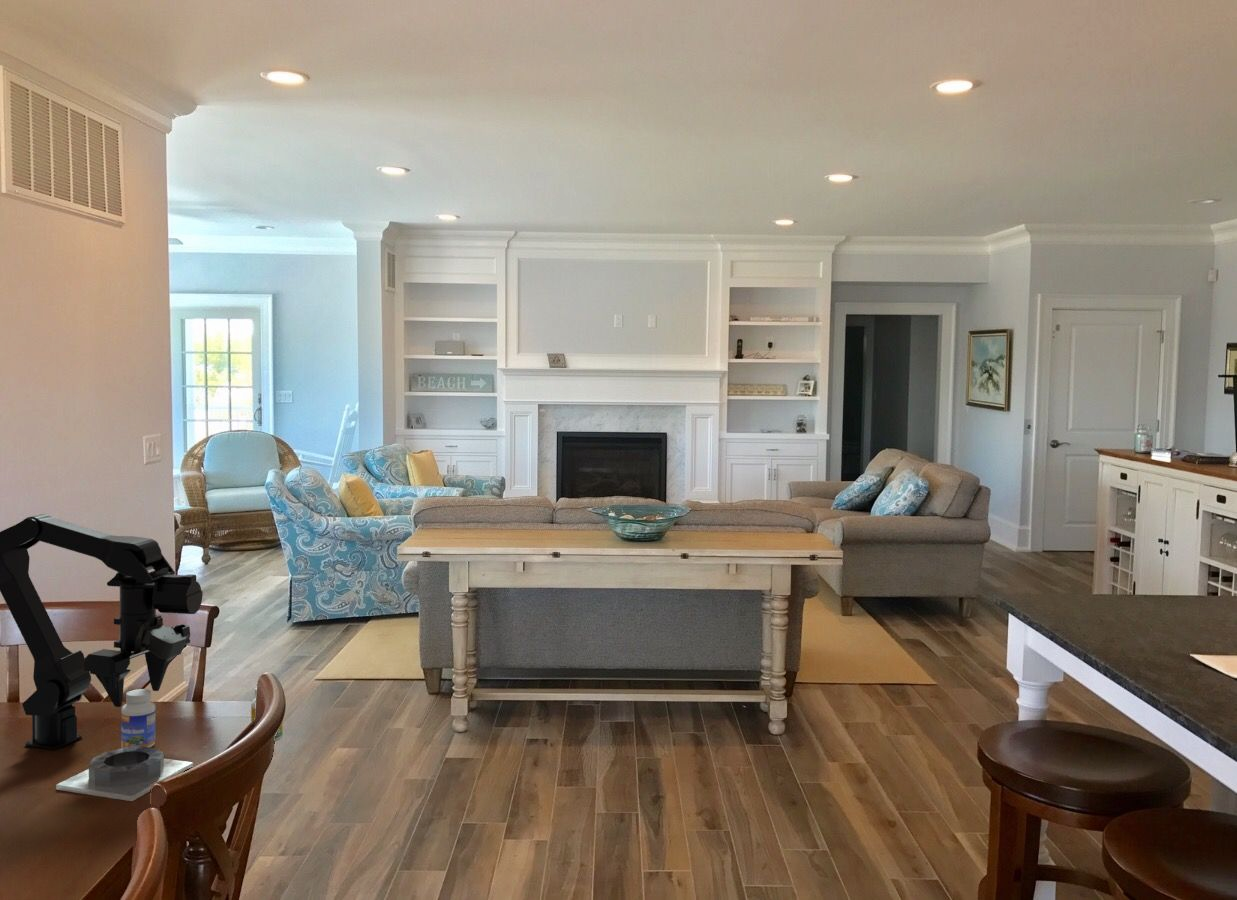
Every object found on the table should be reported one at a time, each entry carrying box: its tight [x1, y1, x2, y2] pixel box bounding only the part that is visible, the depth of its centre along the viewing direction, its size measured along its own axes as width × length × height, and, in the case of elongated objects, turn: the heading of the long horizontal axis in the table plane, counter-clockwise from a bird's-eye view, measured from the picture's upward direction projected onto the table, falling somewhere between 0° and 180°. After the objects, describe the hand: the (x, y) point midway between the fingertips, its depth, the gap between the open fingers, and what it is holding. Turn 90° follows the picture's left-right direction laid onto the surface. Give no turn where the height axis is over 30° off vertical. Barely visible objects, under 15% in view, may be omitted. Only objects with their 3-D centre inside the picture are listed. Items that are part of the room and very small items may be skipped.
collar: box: [55, 746, 194, 802], centre depth 156 cm, size 14×14×3 cm
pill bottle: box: [120, 688, 156, 748], centre depth 169 cm, size 5×5×10 cm
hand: (137, 698), depth 169 cm, fingers open, 9 cm apart
